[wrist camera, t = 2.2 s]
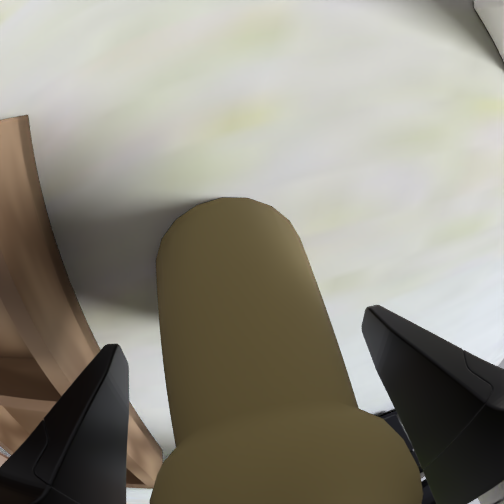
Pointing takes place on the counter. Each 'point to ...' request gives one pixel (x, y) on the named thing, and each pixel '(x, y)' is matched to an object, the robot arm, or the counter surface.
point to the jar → (493, 20)
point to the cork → (261, 374)
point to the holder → (43, 313)
